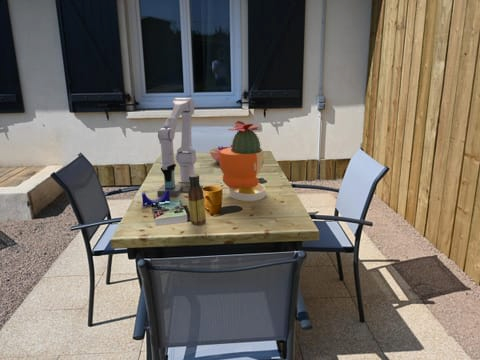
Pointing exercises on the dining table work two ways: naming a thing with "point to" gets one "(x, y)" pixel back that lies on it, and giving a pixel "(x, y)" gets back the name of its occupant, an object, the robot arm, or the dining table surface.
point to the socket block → (170, 190)
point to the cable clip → (162, 199)
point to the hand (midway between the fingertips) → (169, 180)
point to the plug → (172, 182)
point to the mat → (188, 189)
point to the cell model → (217, 152)
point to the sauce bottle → (196, 201)
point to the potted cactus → (243, 164)
